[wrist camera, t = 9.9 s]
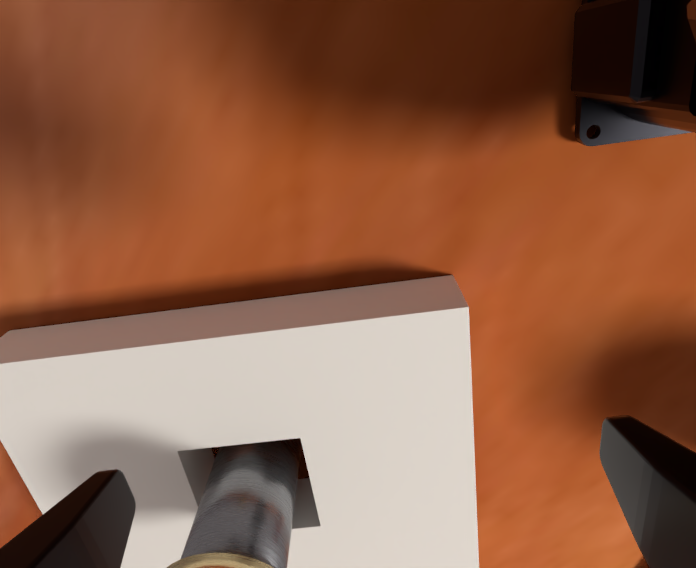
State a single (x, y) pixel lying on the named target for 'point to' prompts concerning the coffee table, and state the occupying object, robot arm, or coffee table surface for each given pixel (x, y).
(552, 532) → the coffee table surface
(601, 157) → the coffee table surface
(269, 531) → the metal pin
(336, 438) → the hole plate
